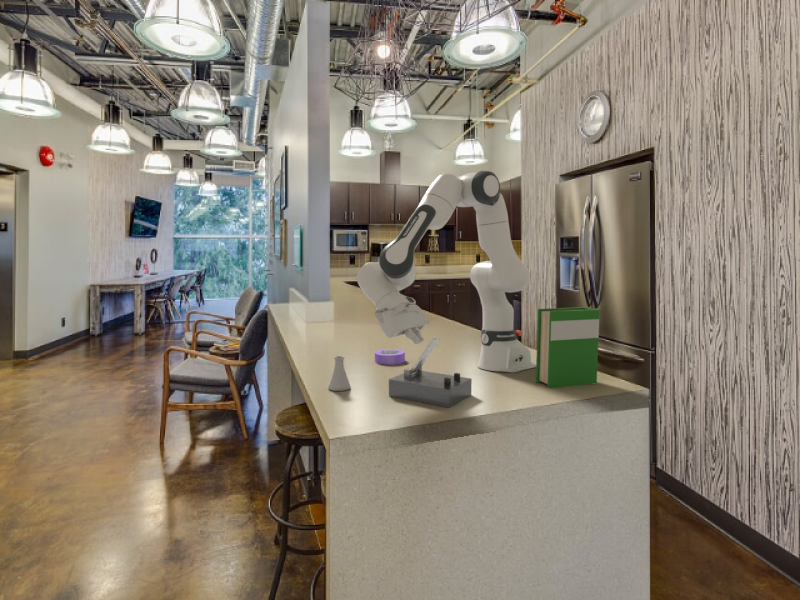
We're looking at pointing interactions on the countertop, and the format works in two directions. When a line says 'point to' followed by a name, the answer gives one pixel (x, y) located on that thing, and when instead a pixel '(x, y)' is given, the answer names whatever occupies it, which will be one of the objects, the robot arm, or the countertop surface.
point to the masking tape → (389, 356)
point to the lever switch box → (430, 387)
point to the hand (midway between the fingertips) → (420, 342)
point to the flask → (339, 376)
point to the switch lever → (424, 355)
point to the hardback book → (567, 346)
